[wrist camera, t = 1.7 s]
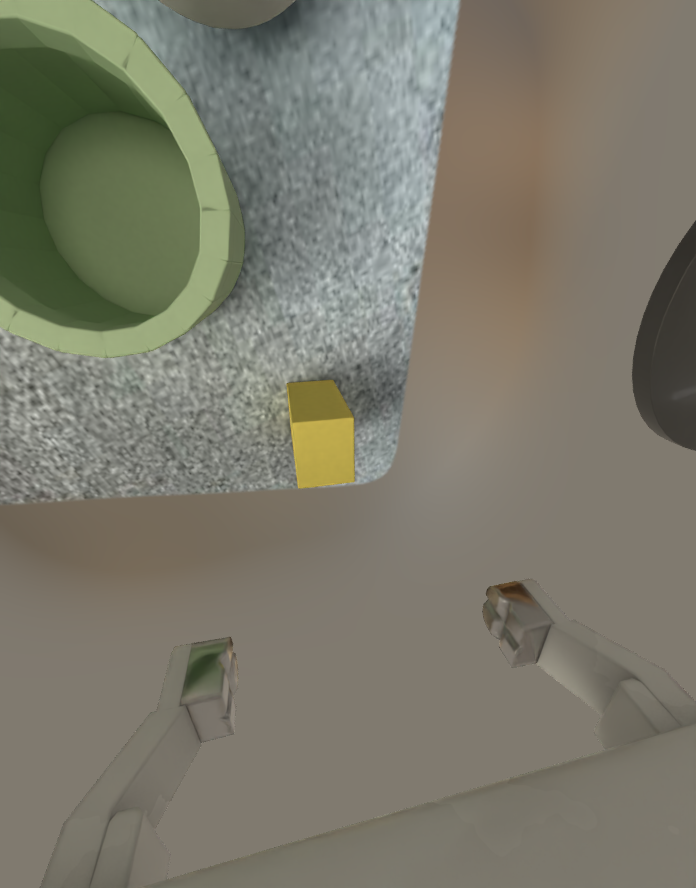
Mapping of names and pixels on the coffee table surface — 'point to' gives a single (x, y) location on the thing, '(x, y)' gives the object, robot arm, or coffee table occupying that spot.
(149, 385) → the coffee table surface
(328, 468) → the sponge
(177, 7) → the teacup
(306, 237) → the coffee table surface
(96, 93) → the jar
